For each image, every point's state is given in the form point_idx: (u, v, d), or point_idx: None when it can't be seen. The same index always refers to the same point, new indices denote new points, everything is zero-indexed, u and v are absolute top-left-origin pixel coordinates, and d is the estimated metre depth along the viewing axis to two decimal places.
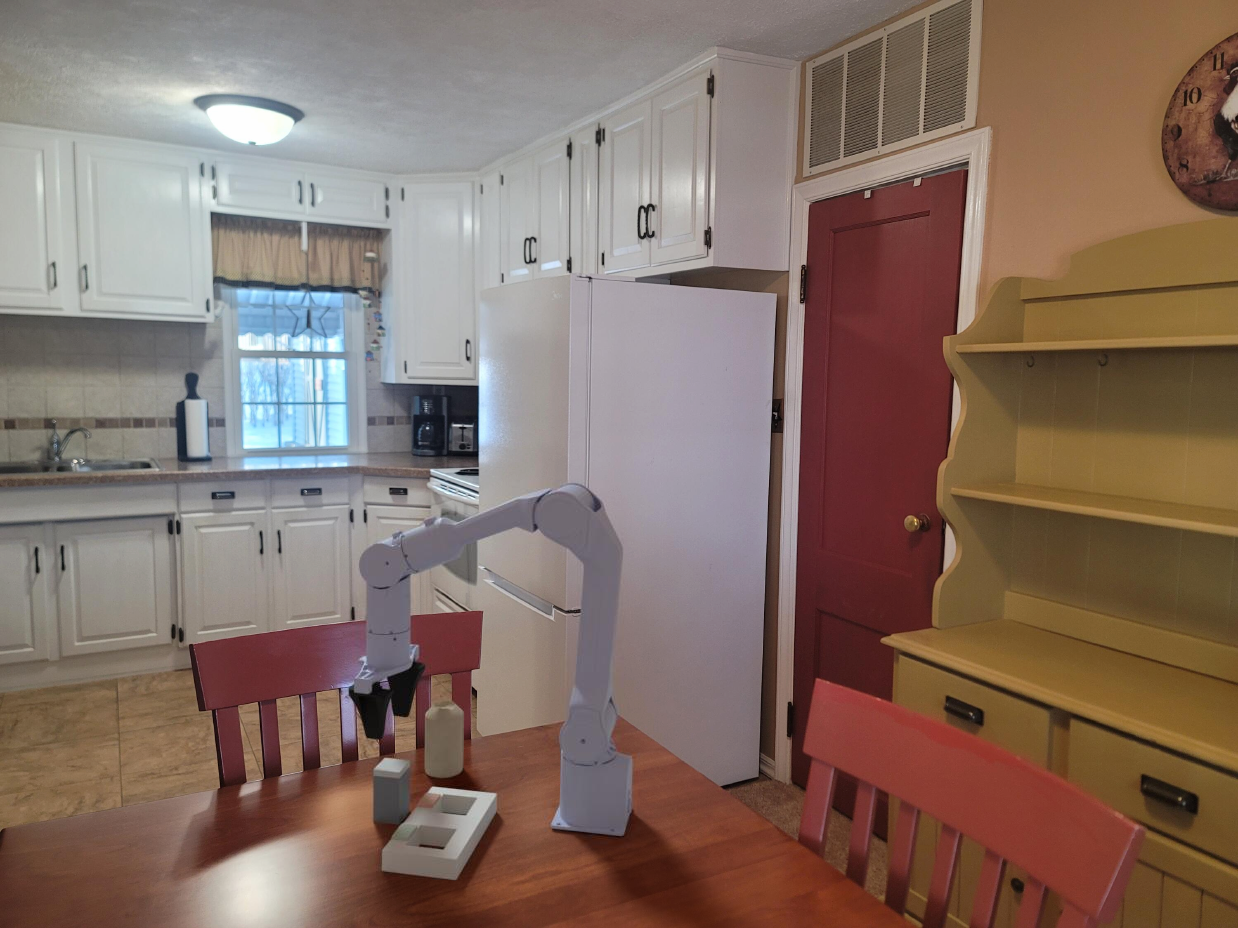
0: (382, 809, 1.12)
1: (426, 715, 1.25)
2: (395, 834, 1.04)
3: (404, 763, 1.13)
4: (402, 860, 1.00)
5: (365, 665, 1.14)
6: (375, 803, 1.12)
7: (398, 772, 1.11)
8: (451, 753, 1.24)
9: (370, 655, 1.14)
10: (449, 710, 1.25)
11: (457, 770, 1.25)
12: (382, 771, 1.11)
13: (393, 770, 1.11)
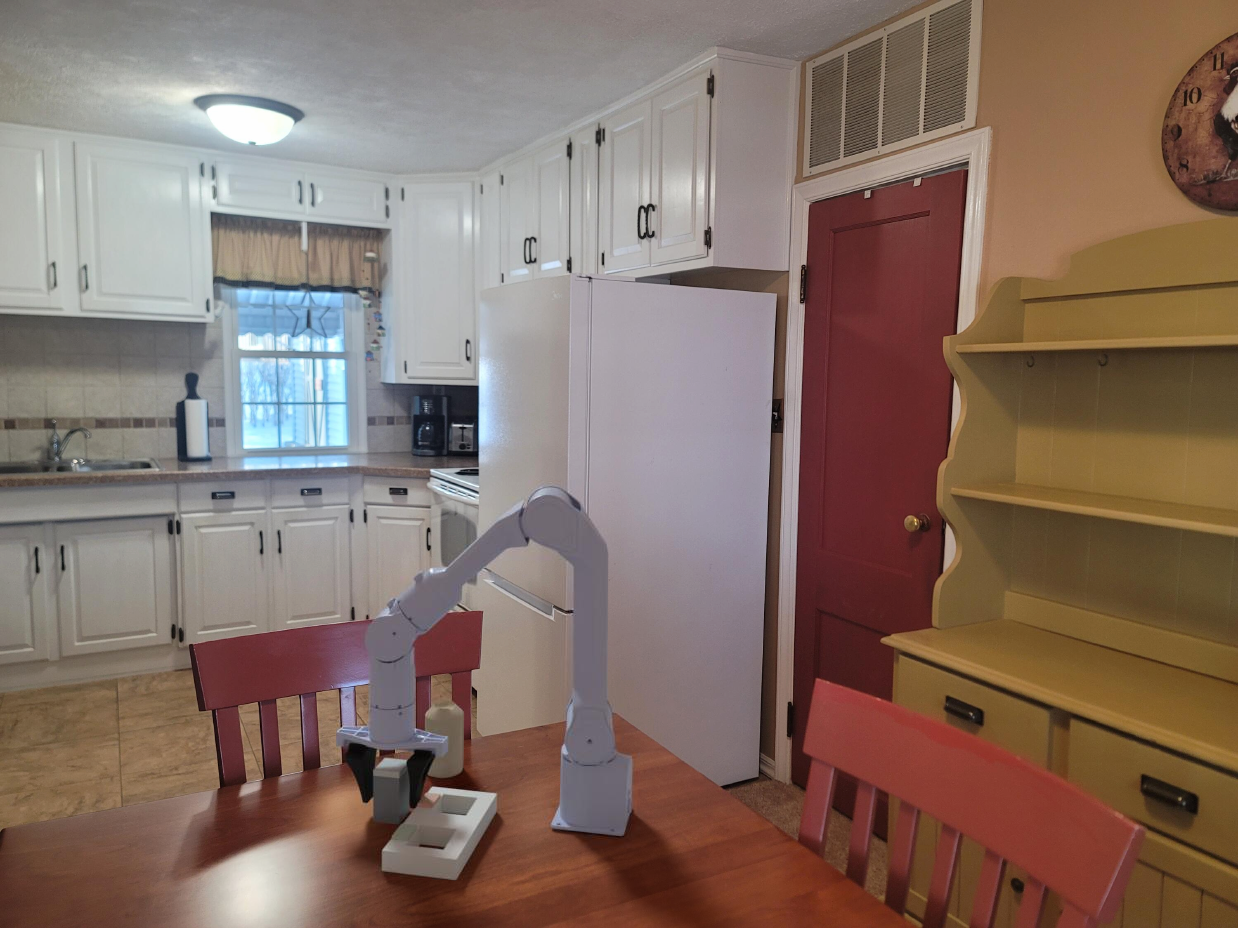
0: (382, 809, 1.12)
1: (426, 715, 1.25)
2: (395, 834, 1.04)
3: (404, 763, 1.13)
4: (402, 860, 1.00)
5: None
6: (375, 803, 1.12)
7: (398, 772, 1.11)
8: (451, 753, 1.24)
9: None
10: (449, 710, 1.25)
11: (457, 770, 1.25)
12: (382, 771, 1.11)
13: (393, 769, 1.11)
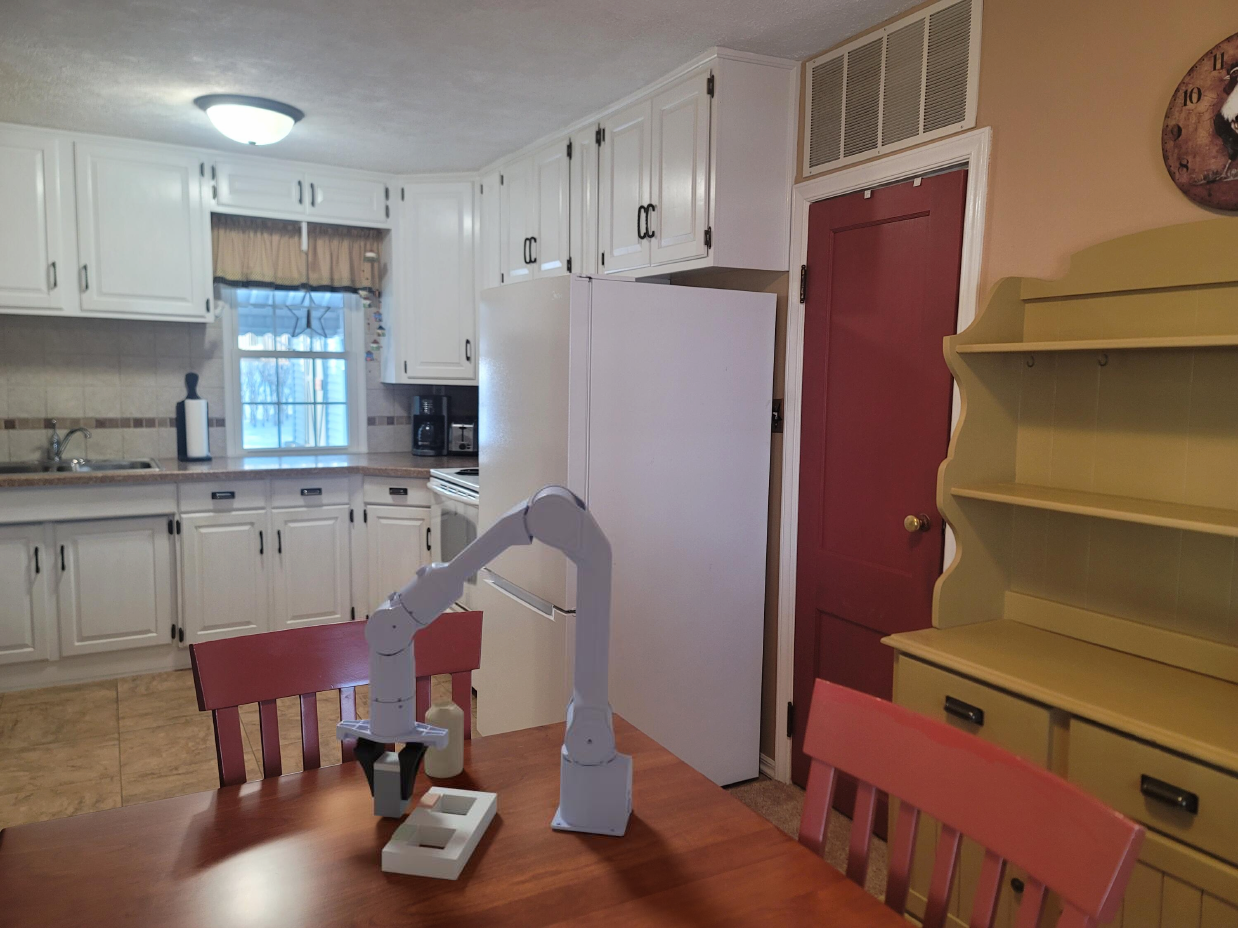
0: (383, 803, 1.11)
1: (426, 715, 1.25)
2: (395, 834, 1.04)
3: None
4: (402, 860, 1.00)
5: None
6: (376, 797, 1.12)
7: (399, 765, 1.11)
8: (451, 753, 1.24)
9: None
10: (449, 710, 1.25)
11: (457, 770, 1.25)
12: (382, 764, 1.11)
13: (394, 763, 1.11)
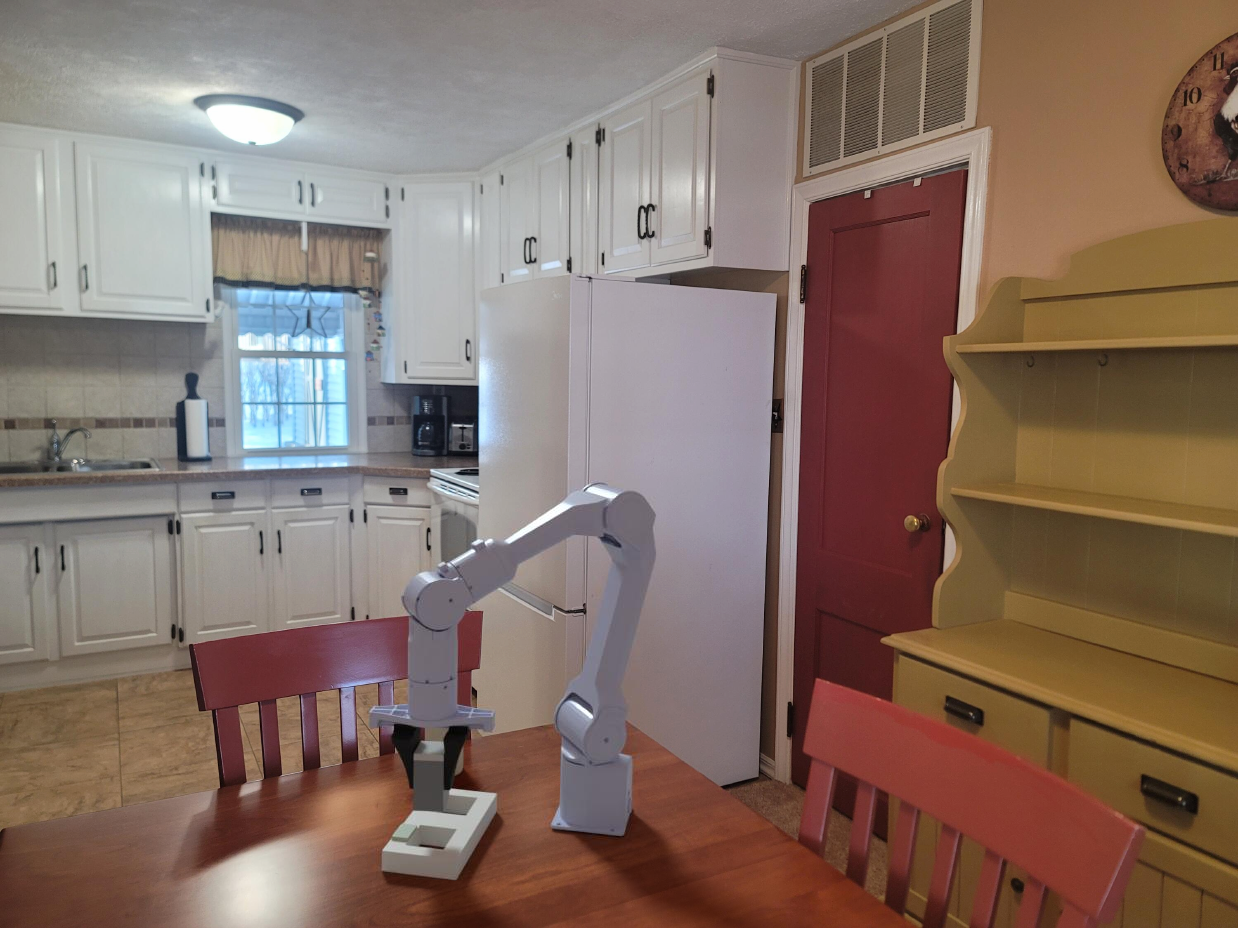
0: (423, 797, 1.02)
1: None
2: (395, 834, 1.04)
3: None
4: (402, 860, 1.00)
5: None
6: (416, 790, 1.02)
7: (442, 754, 1.01)
8: None
9: None
10: None
11: (457, 770, 1.25)
12: (423, 754, 1.01)
13: (436, 752, 1.02)
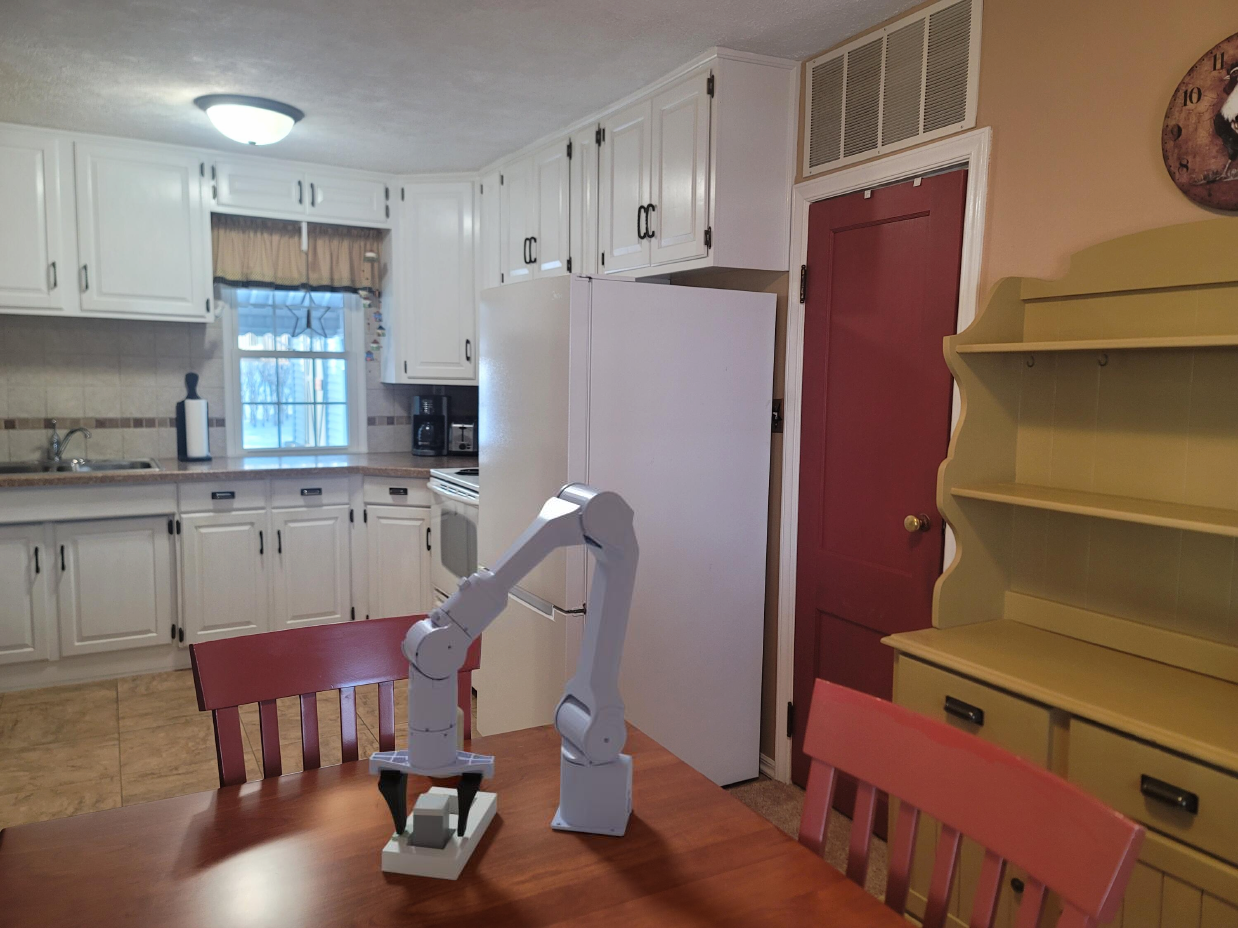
0: None
1: None
2: (395, 834, 1.04)
3: (444, 798, 1.04)
4: (402, 860, 1.00)
5: None
6: (415, 844, 1.02)
7: (441, 809, 1.02)
8: None
9: None
10: None
11: None
12: (423, 809, 1.02)
13: (435, 807, 1.02)
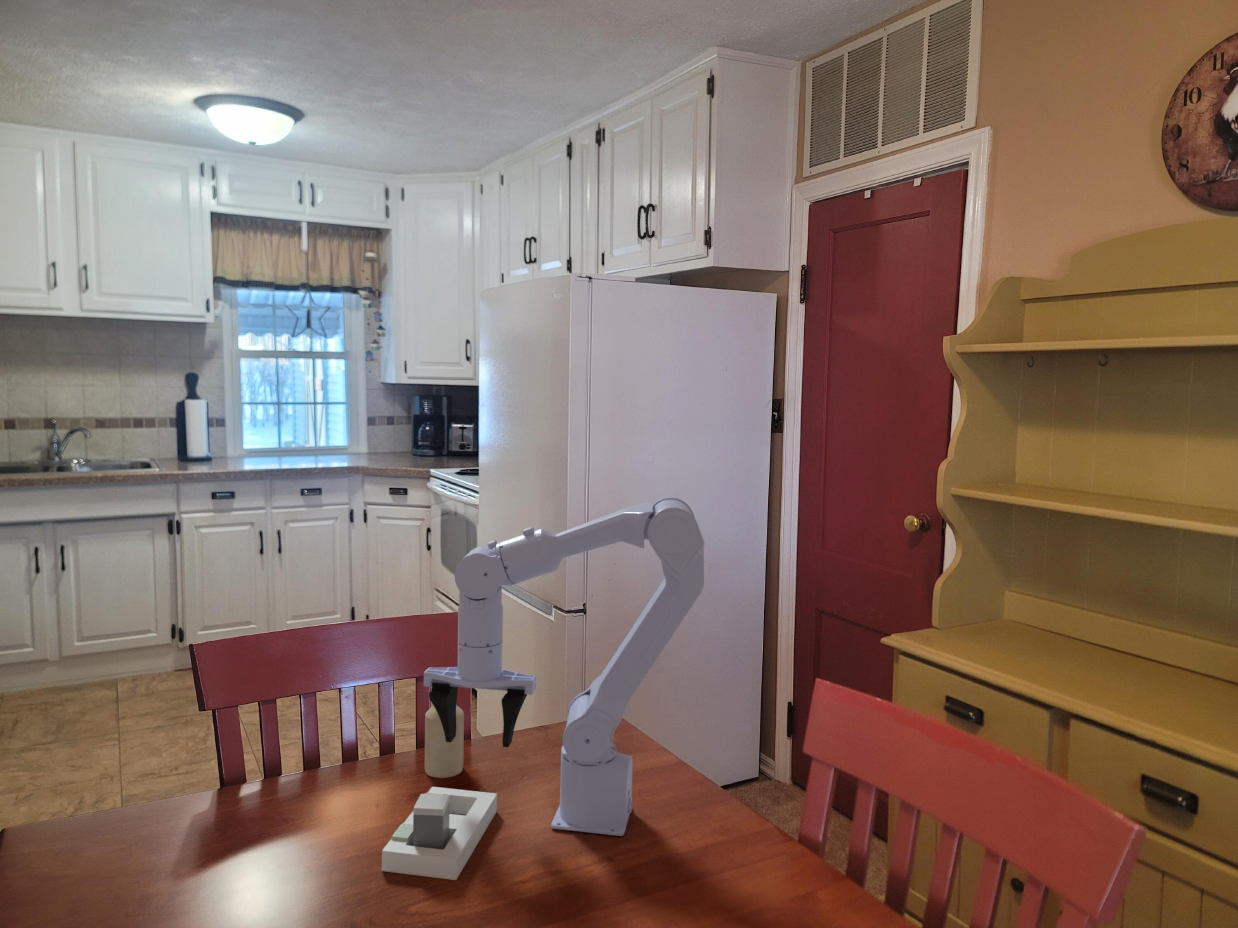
0: None
1: (426, 715, 1.25)
2: (395, 834, 1.04)
3: (444, 798, 1.04)
4: (402, 860, 1.00)
5: None
6: (415, 844, 1.02)
7: (442, 809, 1.02)
8: (451, 753, 1.24)
9: None
10: None
11: (457, 770, 1.25)
12: (423, 809, 1.02)
13: (435, 807, 1.02)
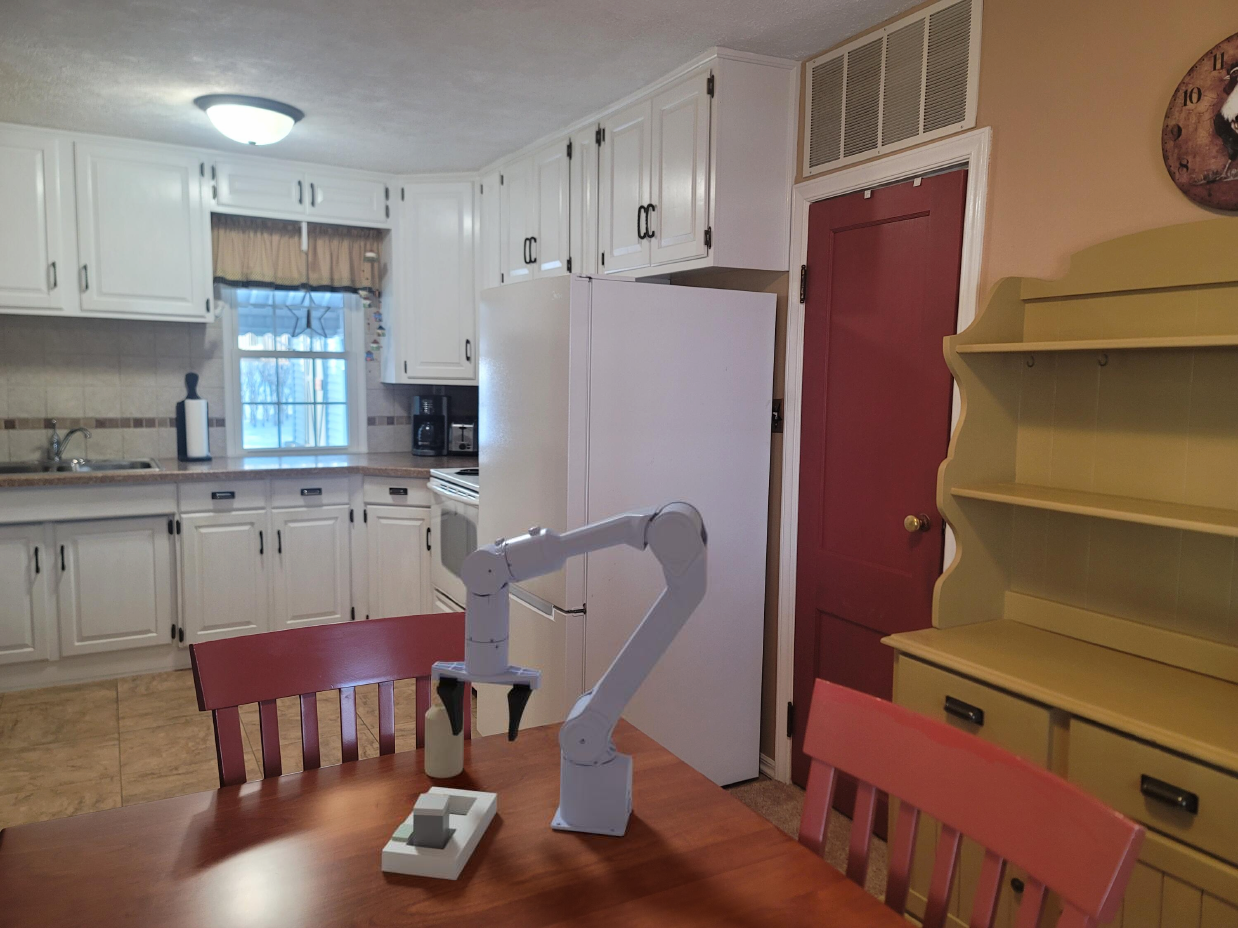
0: None
1: (426, 715, 1.25)
2: (395, 834, 1.04)
3: (444, 798, 1.04)
4: (402, 860, 1.00)
5: None
6: (415, 844, 1.02)
7: (441, 809, 1.02)
8: (451, 753, 1.24)
9: None
10: None
11: (457, 770, 1.25)
12: (423, 809, 1.02)
13: (435, 807, 1.02)
